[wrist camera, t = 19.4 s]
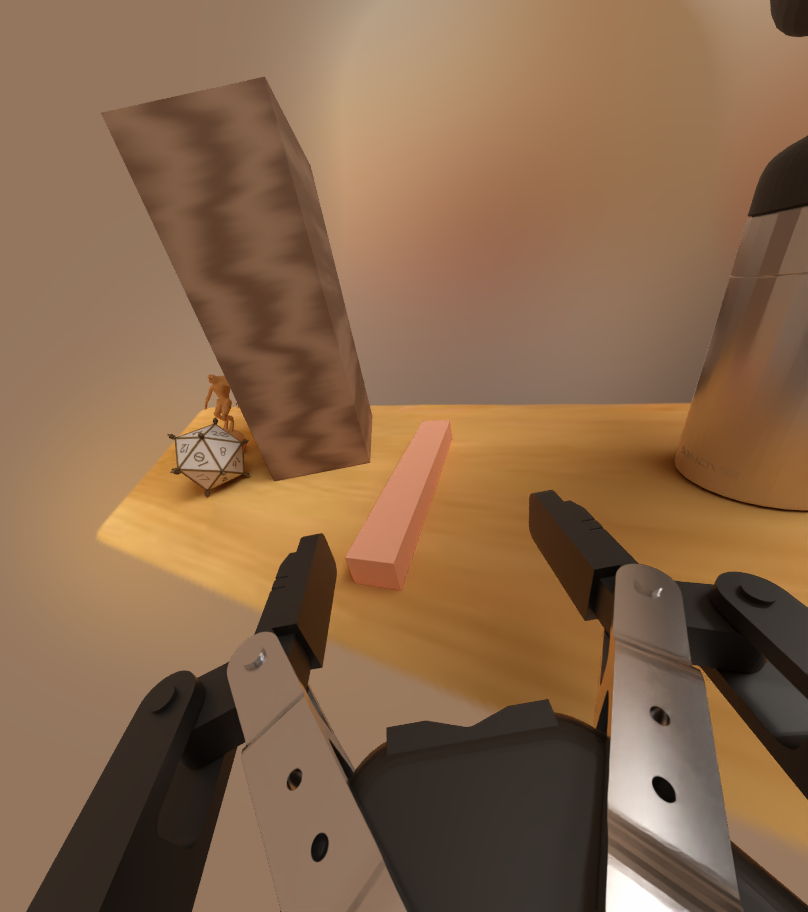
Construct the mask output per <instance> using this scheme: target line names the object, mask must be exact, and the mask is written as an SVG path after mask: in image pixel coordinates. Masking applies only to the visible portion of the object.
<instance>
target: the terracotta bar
mask: <svg viewBox="0 0 808 912" xmlns="http://www.w3.org/2000/svg"><path fill="white" fill-rule="evenodd" d="M451 441H452V433H451V424H450V420H440V421H423V422H422V423H421V425H420V427H419V429H418V430H417V432H416V434H415V436H414V437H413V439H412V441H411V443H410V444H409V446H408V448H407V450H406V451H405V453H404V455H403V457H402V458H401V460H400V462H399V464H398V465H397V467H396V469H395V471H394V472H393V474H392V476H391V478H390V479H389V481H388V483H387V485H386V486H385V488H384V490H383V492H382V493H381V495H380V497H379V499H378V500H377V502H376V504H375V506H374V507H373V509H372V511H371V513H370V514H369V516H368V518H367V520H366V521H365V523H364V525H363V527H362V528H361V530H360V532H359V534H358V535H357V537H356V539H355V541H354V542H353V544H352V546H351V548H350V549H349V551H348V553H347V555H346V556H345V559H346V562H347V564H348V567H349V569H350V572H351V575H352V577H353V580H354V582H355V583H356V584H363V585H369V586H376V587H382V588H388V589H395V590H401V589H402V586H403V583H404V580H405V577H406V574H407V571H408V568H409V565H410V562H411V560H412V557H413V554H414V551H415V548H416V545H417V542H418V539H419V536H420V533H421V530H422V527H423V524H424V521H425V518H426V515H427V512H428V509H429V506H430V503H431V500H432V497H433V494H434V491H435V488H436V486H437V483H438V480H439V477H440V474H441V471H442V468H443V465H444V462H445V459H446V456H447V453H448V450H449V447H450V444H451Z"/></svg>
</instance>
